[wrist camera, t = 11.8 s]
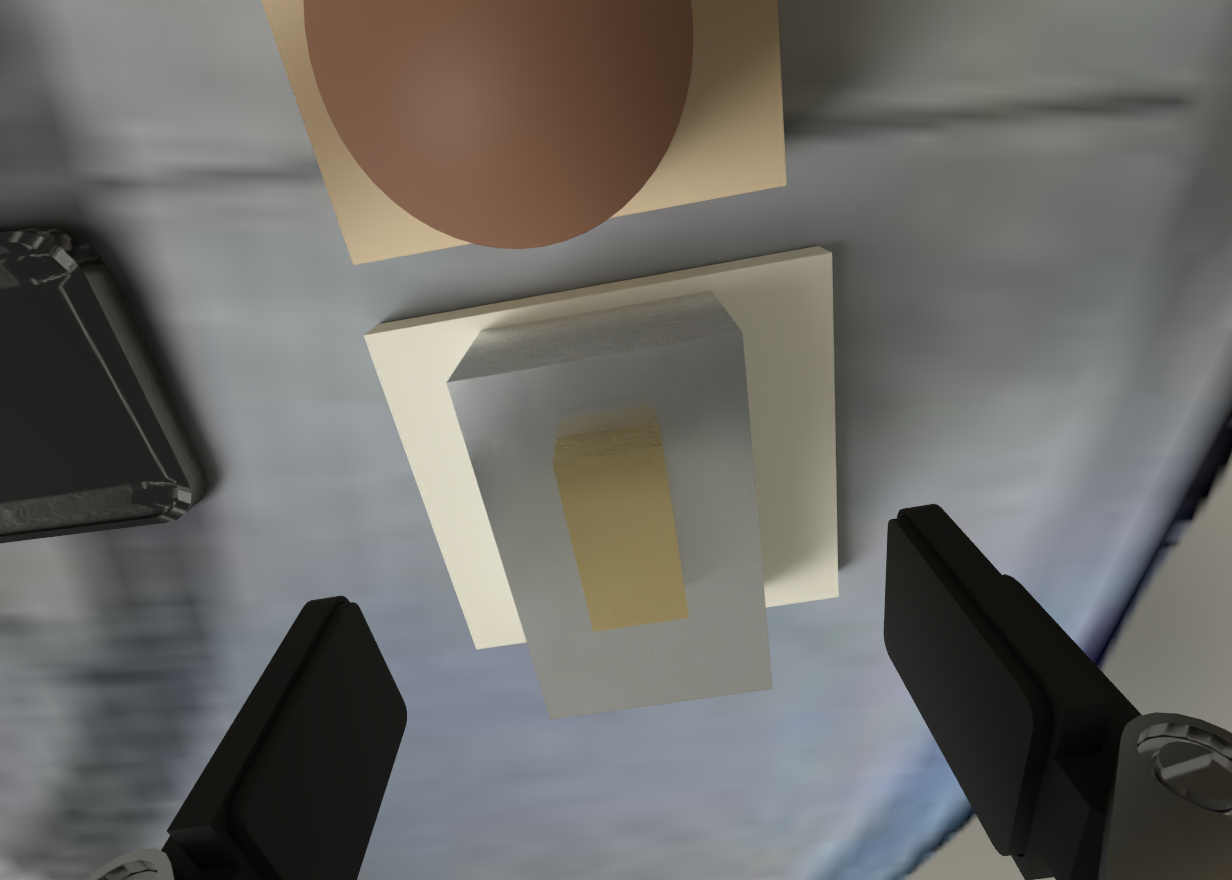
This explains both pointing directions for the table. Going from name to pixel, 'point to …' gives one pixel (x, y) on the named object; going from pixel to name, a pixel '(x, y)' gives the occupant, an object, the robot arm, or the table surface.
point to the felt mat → (778, 406)
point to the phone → (81, 400)
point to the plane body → (529, 113)
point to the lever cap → (623, 500)
